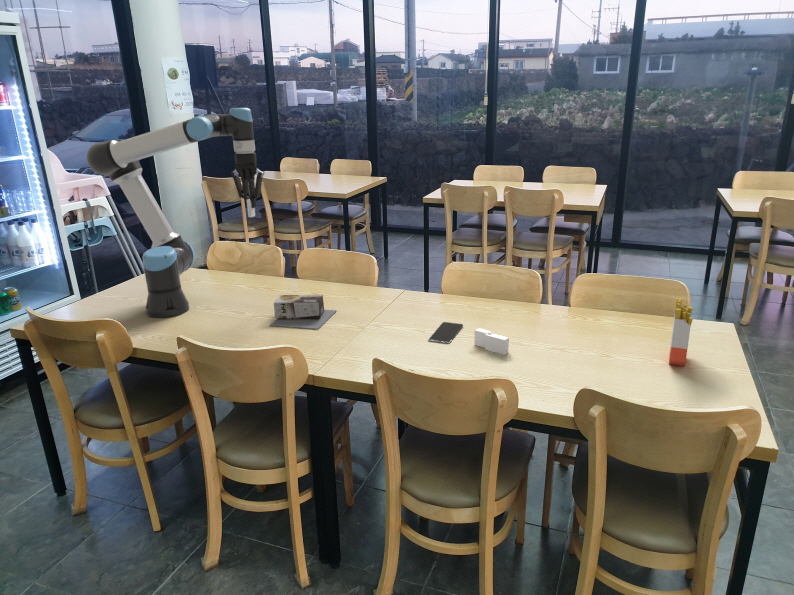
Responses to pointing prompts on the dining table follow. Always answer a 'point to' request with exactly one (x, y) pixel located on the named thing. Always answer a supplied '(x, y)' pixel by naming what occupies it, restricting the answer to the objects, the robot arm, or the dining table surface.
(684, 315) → the french fries container
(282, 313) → the coffee box
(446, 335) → the smartphone
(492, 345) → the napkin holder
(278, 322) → the rubber mat
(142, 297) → the dining table surface
